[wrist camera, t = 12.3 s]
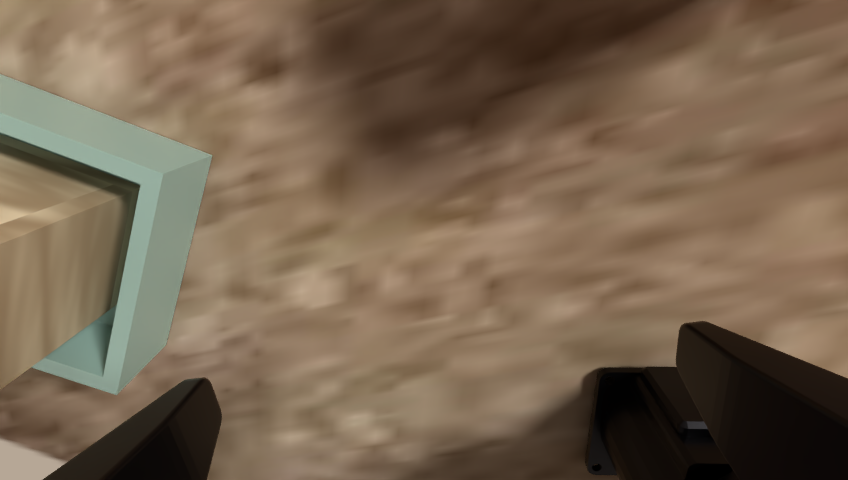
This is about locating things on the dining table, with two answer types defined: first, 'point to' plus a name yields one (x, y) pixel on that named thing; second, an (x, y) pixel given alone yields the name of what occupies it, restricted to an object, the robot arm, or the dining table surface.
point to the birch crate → (56, 250)
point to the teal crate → (150, 237)
